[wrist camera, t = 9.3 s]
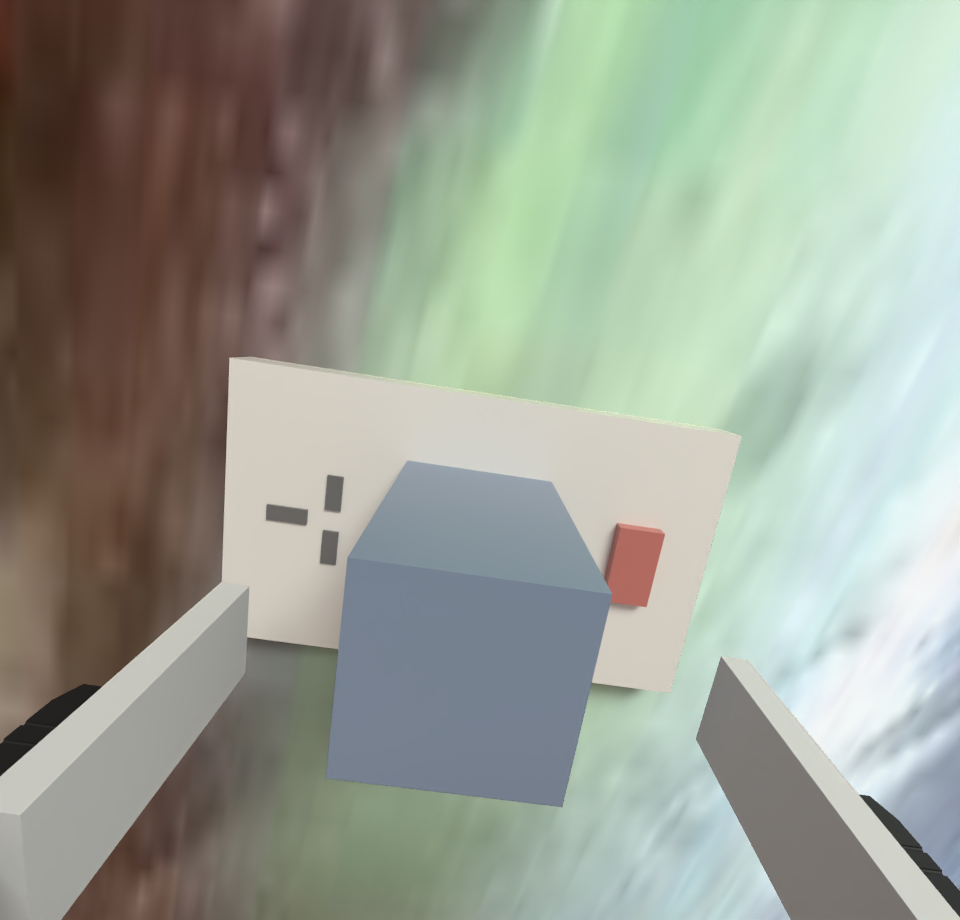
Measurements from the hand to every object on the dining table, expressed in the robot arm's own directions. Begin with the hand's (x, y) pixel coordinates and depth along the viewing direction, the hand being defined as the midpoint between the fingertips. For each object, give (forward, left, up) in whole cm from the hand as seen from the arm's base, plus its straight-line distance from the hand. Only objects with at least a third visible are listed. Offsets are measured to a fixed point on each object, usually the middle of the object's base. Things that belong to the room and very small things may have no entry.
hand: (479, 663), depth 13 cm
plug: (0, 0, -11) cm, 11 cm away
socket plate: (0, 0, -11) cm, 11 cm away
